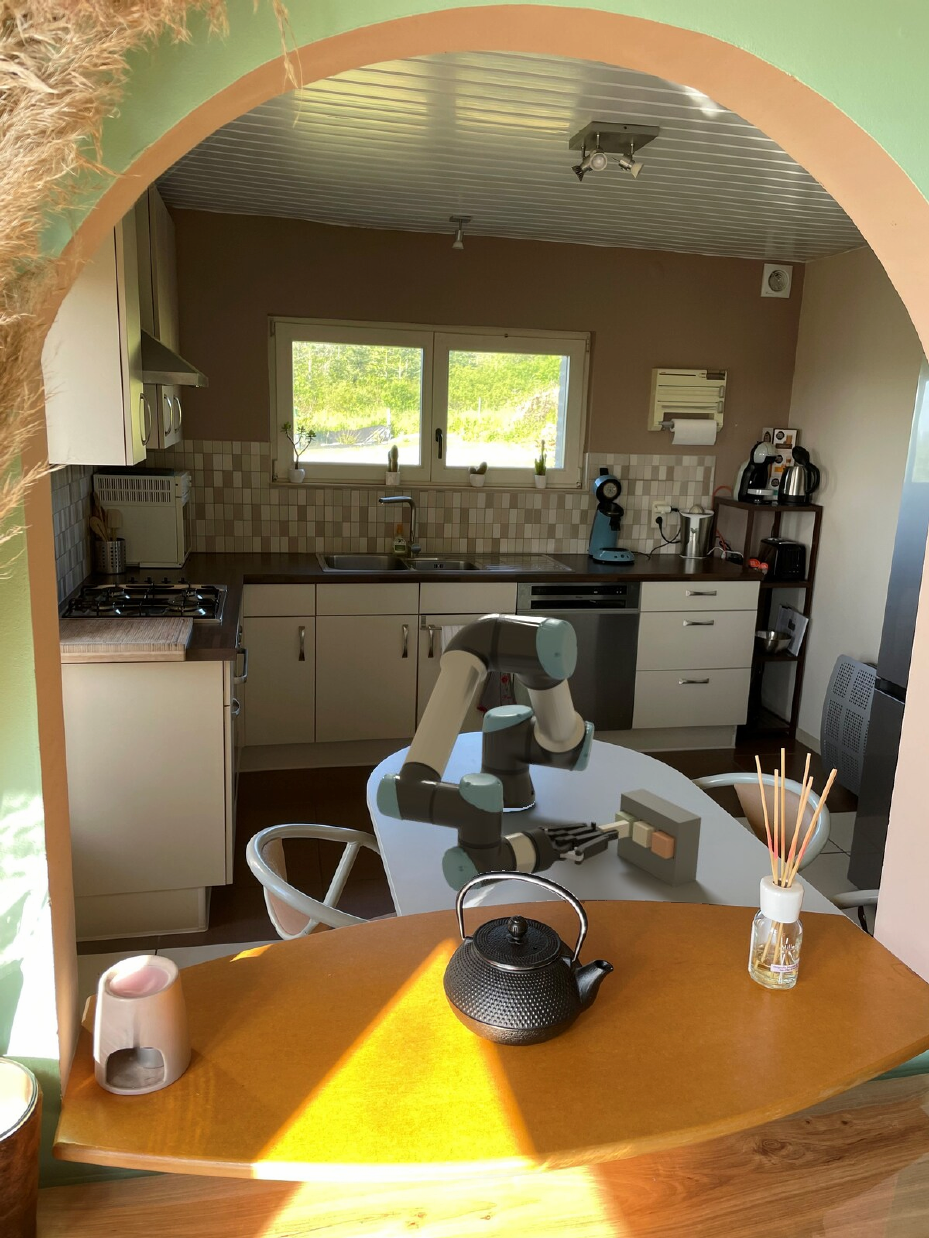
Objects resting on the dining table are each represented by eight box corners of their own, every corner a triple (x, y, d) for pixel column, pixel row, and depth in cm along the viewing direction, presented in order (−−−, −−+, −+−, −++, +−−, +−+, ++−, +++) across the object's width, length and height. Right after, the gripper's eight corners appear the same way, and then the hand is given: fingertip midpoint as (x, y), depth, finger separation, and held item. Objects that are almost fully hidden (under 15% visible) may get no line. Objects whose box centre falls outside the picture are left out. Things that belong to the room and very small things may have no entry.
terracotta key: (651, 850, 185) (652, 832, 184) (666, 846, 187) (667, 829, 186) (665, 858, 182) (666, 840, 181) (680, 854, 184) (681, 836, 183)
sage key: (614, 829, 194) (615, 812, 194) (628, 826, 196) (630, 809, 196) (627, 837, 191) (628, 819, 190) (641, 833, 193) (643, 816, 192)
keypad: (616, 855, 197) (621, 793, 195) (638, 849, 201) (642, 788, 198) (673, 889, 183) (679, 823, 181) (695, 882, 186) (701, 817, 184)
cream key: (632, 840, 190) (633, 822, 189) (647, 836, 192) (648, 818, 191) (645, 847, 186) (647, 829, 186) (660, 843, 188) (661, 826, 188)
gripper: (503, 858, 171) (603, 833, 184) (545, 888, 161) (648, 859, 173) (505, 820, 170) (605, 797, 182) (547, 847, 159) (651, 822, 171)
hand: (626, 828), depth 177 cm, fingers closed
